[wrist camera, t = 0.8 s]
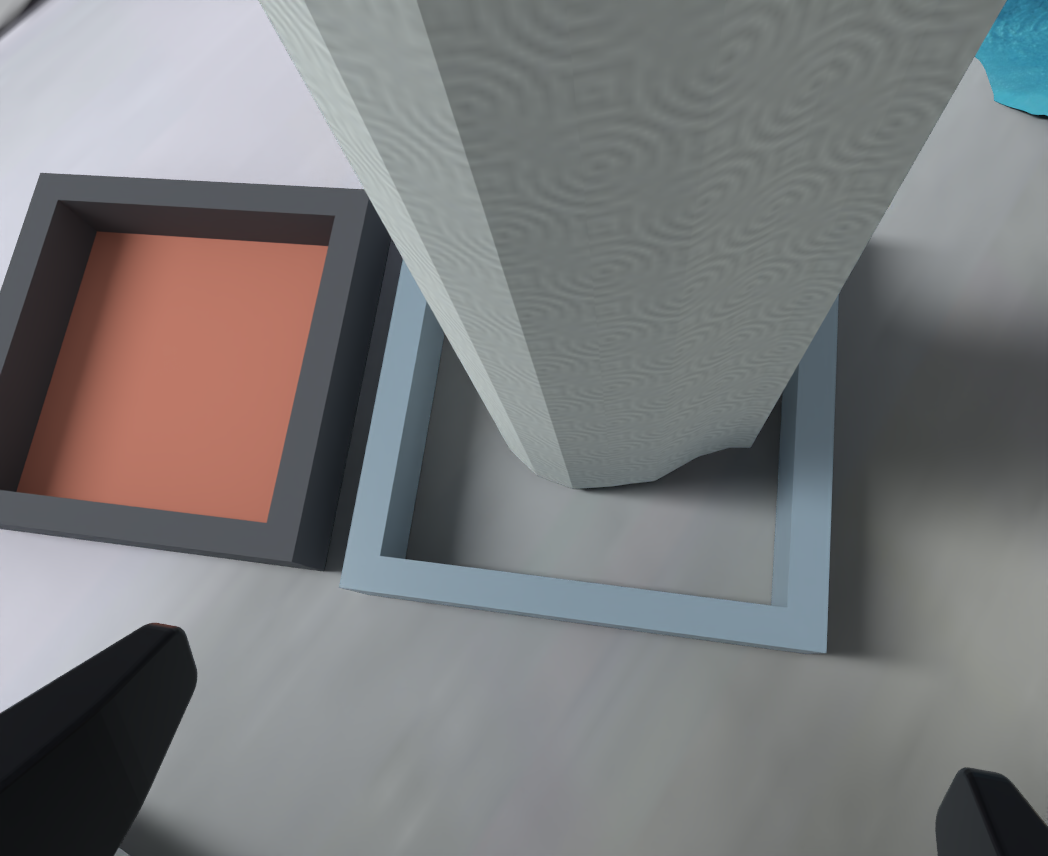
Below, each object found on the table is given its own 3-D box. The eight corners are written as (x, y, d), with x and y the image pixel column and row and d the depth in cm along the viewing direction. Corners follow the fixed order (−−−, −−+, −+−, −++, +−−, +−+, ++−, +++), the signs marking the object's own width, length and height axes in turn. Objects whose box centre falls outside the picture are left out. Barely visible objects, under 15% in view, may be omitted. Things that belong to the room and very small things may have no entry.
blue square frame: (805, 653, 22) (826, 653, 20) (367, 594, 24) (339, 587, 22) (822, 242, 26) (842, 199, 23) (436, 220, 28) (418, 179, 26)
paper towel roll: (461, 381, 26) (-132, -612, 6) (611, 278, 26) (556, -1001, 6) (589, 562, 24) (365, 1, 4) (750, 448, 24) (1389, -660, 4)
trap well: (324, 571, 25) (291, 562, 22) (-13, 526, 27) (-75, 514, 24) (392, 229, 28) (370, 189, 26) (87, 211, 30) (40, 172, 28)
